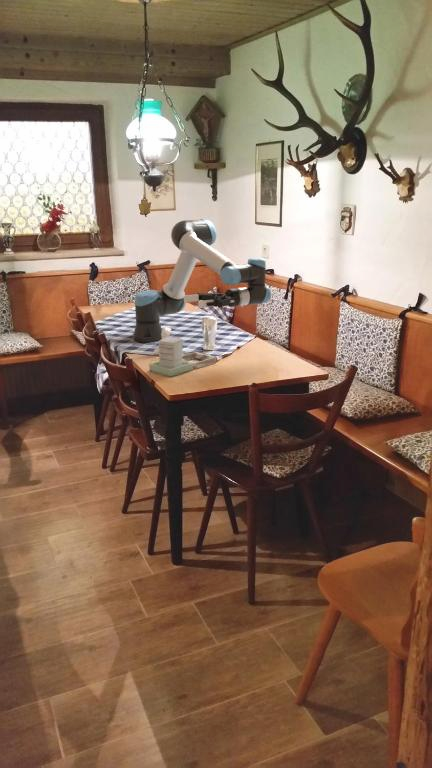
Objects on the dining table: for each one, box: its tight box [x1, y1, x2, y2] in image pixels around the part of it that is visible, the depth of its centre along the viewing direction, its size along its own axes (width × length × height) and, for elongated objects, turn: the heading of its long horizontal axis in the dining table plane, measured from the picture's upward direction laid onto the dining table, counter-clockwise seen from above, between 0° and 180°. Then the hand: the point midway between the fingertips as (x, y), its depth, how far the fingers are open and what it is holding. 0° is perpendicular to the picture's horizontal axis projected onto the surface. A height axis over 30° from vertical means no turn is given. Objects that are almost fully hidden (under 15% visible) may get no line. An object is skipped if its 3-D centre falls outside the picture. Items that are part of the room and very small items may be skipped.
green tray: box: [148, 360, 194, 378], centre depth 247 cm, size 13×13×3 cm
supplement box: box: [158, 336, 184, 369], centre depth 245 cm, size 7×7×13 cm
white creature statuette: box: [153, 326, 172, 356], centre depth 272 cm, size 10×9×12 cm
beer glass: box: [201, 315, 218, 351], centre depth 277 cm, size 7×7×15 cm
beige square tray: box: [182, 351, 217, 370], centre depth 257 cm, size 13×13×2 cm
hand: (191, 301), depth 243 cm, fingers open, 13 cm apart
